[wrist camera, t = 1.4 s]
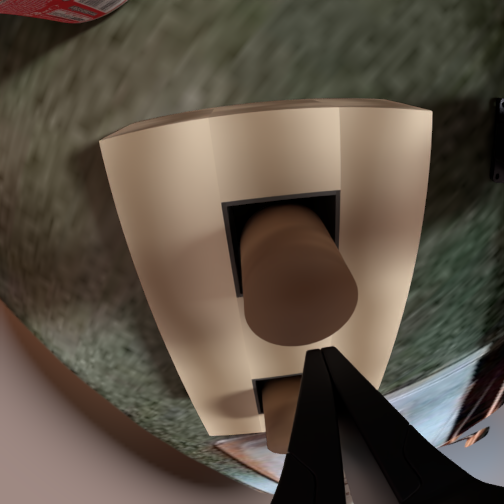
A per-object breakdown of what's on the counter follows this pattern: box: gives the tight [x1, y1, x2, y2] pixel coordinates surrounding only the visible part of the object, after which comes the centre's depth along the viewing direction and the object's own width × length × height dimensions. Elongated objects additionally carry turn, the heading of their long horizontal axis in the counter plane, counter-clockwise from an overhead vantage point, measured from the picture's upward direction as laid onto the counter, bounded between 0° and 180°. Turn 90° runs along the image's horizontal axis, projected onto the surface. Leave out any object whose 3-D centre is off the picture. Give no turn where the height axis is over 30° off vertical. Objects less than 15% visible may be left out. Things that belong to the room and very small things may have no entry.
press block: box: [99, 98, 432, 436], centre depth 19 cm, size 14×24×5 cm, turn 6°
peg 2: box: [262, 375, 302, 454], centre depth 19 cm, size 4×4×4 cm
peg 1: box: [240, 202, 358, 346], centre depth 12 cm, size 4×4×4 cm
